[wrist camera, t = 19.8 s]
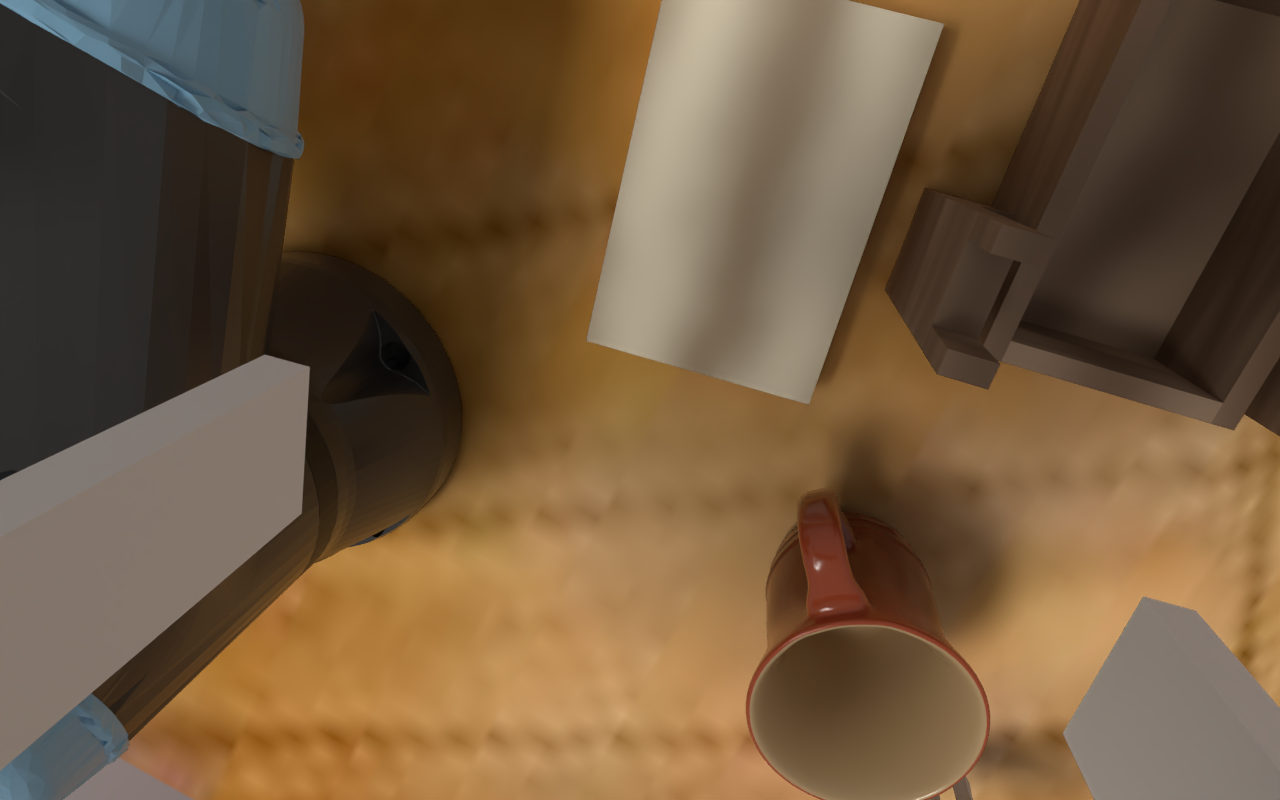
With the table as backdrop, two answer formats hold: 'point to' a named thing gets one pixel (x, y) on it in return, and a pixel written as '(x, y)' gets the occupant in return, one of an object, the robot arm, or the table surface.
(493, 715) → the table surface
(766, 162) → the lid
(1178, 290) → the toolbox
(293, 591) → the table surface
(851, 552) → the mug
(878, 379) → the table surface
